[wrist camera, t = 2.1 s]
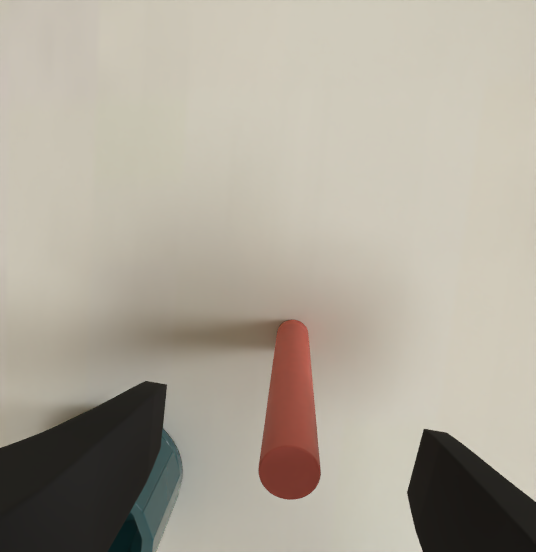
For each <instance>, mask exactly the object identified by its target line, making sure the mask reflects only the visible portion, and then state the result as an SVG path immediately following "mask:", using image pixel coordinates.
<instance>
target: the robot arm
mask: <svg viewBox="0 0 536 552" xmlns="http://www.w3.org/2000/svg"><path fill="white" fill-rule="evenodd" d="M166 389H167V385H166V384H160V383H154V382H148V381H145V382H143V383H141V384H139V385H137V386H135V387H133V388H131V389H129V390H127V391H125V392H124V393H122V394H120V395H118V396H116V397H114V398H112V399H111V400H109V401H107V402H105V403H103V404H101V405H99V406H97V407H95V408H93V409H92V410H90V411H88V412H85V413H83V414H81V415H79V416H77V417H75V418H73V419H71V420H68V421H66V422H64V423H62V424H60V425H58V426H56V427H54V428H51V429H49V430H47V431H44V432H42V433H39V434H37V435H34V436H32V437H29V438H27V439H24V440H21V441H19V442H16V443H13V444H11V445H8V446H5V447H2V448H0V552H108V550H109V548H110V547H111V545H112V543H113V541H114V539H115V538H116V536H117V534H118V532H119V531H120V529H121V527H122V525H123V524H124V522H125V520H126V518H127V517H128V515H129V513H130V511H131V509H132V508H133V506H134V504H135V502H136V501H137V499H138V497H139V495H140V493H141V492H142V490H143V488H144V486H145V484H146V482H147V480H148V478H149V475H150V473H151V471H152V468H153V466H154V464H155V461H156V459H157V456H158V454H159V451H160V449H161V439H162V429H163V419H164V409H165V399H166ZM407 494H408V499H409V503H410V508H411V513H412V517H413V521H414V525H415V529H416V533H417V536H418V539H419V542H420V544H421V547H422V550H423V552H536V502H535V501H534V500H532V499H531V498H530V497H529V496H527V495H526V494H525V493H523V492H522V491H521V490H519V489H518V488H517V487H516V486H514V485H513V484H512V483H511V482H509V481H508V480H507V479H506V478H504V477H503V476H502V475H501V474H499V473H498V472H497V471H496V470H494V469H493V468H492V467H491V466H489V465H488V464H487V463H486V462H484V461H483V460H482V459H481V458H479V457H478V456H477V455H476V454H474V453H473V452H472V451H471V450H469V449H468V448H467V447H466V446H464V445H463V444H462V443H460V442H459V441H458V440H456V439H455V438H454V437H452V436H451V435H449V434H448V433H445V432H439V431H433V430H428V429H424V431H423V435H422V438H421V442H420V446H419V450H418V453H417V457H416V461H415V465H414V469H413V472H412V476H411V480H410V484H409V487H408V491H407Z"/></svg>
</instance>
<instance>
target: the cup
mask: <svg viewBox="0 0 536 552" xmlns="http://www.w3.org/2000/svg"><path fill="white" fill-rule="evenodd" d="M181 482H182V462H181V458H180V455H179V452H178V450H177V447H176V445H175V444H174V442H173V440H172V439H171V438H170V436H169V435H168V434H167V433H166V431H165V430H164V429H162V439H161V449H160V451H159V454H158V456H157V459H156V461H155V464H154V466H153V468H152V471H151V473H150V475H149V478H148V480H147V482H146V484H145V486H144V488H143V490H142V492H141V493H140V495H139V497H138V499H137V501H136V502H135V504H134V506H133V508H132V509H131V511H130V513H129V515H128V517H127V518H126V520H125V522H124V524H123V525H122V527H121V529H120V531H119V532H118V534H117V536H116V538H115V539H114V541H113V543H112V545H111V547H110V548H109V550H108V552H156V551H157V549H158V546H159V543H160V541H161V538H162V536H163V533H164V531H165V528H166V525H167V523H168V520H169V518H170V515H171V513H172V510H173V508H174V505H175V502H176V500H177V497H178V493H179V489H180V486H181Z"/></svg>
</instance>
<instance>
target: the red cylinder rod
mask: <svg viewBox="0 0 536 552" xmlns="http://www.w3.org/2000/svg"><path fill="white" fill-rule="evenodd" d="M320 475H321V472H320V460H319V449H318V438H317V426H316V415H315V404H314V393H313V382H312V371H311V359H310V348H309V337H308V330H307V328H306V326H305V325H304V324H303V323H301V322H300V321H297V320H288V321H285V322H284V323H282V324H281V325H280V326H279V328H278V331H277V337H276V344H275V352H274V359H273V366H272V374H271V381H270V388H269V396H268V403H267V411H266V418H265V425H264V433H263V440H262V447H261V455H260V462H259V477H260V480H261V482H262V484H263V486H264V487H265V488H266V489H267V490H268V491H269V492H270V493H271V494H273V495H275V496H277V497H279V498H283V499H299V498H302V497H305V496H307V495H308V494H310V493H311V492H312V491H313V490H314V489H315V488H316V486H317V485H318V483H319V480H320Z"/></svg>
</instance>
